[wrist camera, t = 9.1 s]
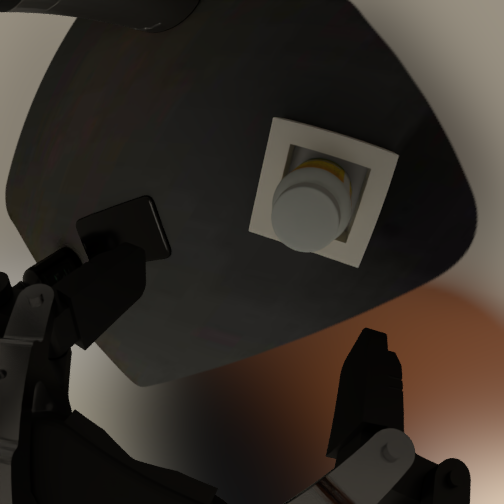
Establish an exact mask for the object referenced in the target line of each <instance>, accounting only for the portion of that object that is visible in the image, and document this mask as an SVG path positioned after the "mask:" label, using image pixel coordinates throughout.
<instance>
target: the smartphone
mask: <svg viewBox="0 0 504 504" xmlns="http://www.w3.org/2000/svg"><path fill="white" fill-rule="evenodd" d="M76 228H77V231H78V234H79V236H80V239H81V241H82V244H83V246H84V249H85V251H86V254H87V256H88V259H89V260H90V259H92V258H93V257H95V256H96V255H98V254H100V253H103V252H106V251H110V250H113V249H115V248H116V247H118V246H119V245H121V244H122V243H124V242H128V243H130V244H133V245H135V246H138V247H140V248H143V249H144V250H145V258H146V261H153V260H159V259H166V258H168V257H169V256H170V255H171V248H170V245H169V242H168V239H167V237H166V234H165V231H164V229H163V226H162V223H161V220H160V217H159V214H158V211H157V208H156V206H155V203H154V201H153V199H152V198H151V197H150V196H147V195H146V196H142V197H139V198H136V199H133V200H130V201H127V202H124V203H121V204H119V205H116V206H113V207H110V208H108V209H105V210H102V211H100V212H97V213H94V214H91V215H89V216H87V217H84V218H81V219H79V220H78V221H77V222H76Z"/></svg>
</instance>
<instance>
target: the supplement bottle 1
mask: <svg viewBox="0 0 504 504" xmlns="http://www.w3.org/2000/svg"><path fill="white" fill-rule="evenodd" d="M81 265H82V264H81V262H80V260H79V258H78V257H77V255H76V254H75V253H74V252H73V251H72V250H70V249H68V248H61V249H59V250H58V251H56V252H54V253H53V254H51V255H49V256H48V257H46V258H44V259H43V260H41V261H40V262H38V263H36V264H35V265H33V266H32V267H30V268H28V269H27V270H26V271H25V273H24V275H23V282H22V281H20V282H19V283H18V284H16V285H15V286H13V287H14V288H17V289H20V290H24V289H25V288H26V287H28V286H31V285H34V284H45V285H48V286H50V287H51V286H53V285H54V284H56V283H57V282H58V281H60V280H61V279H63V278H64V277H66V276H67V275H68V274H70V273H71V272H73V271H74V270H76V269H77V268H80V267H81Z"/></svg>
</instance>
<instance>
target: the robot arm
mask: <svg viewBox="0 0 504 504" xmlns="http://www.w3.org/2000/svg"><path fill="white" fill-rule="evenodd" d="M198 2H199V0H0V12H25V13H43V14H55V15H63V16H71V17H78V18H85V19H91V20H96V21H102V22H107V23H112V24H116V25H121V26H125V27H129V28H132V29H136V30H141V31H145V32H153V33H155V32H161V31H165V30H167V29H170V28H172V27H174V26H175V25H177V24H179V23H180V22H181V21H183V20H184V19H185V18H186V17H187V16H188V15H189V14H190V13H191V12H192V11H193V9H194V8H195V7H196V5H197V4H198ZM145 286H146V258H145V250H144V249H143V248H140V247H138V246H135V245H133V244H130V243H128V242H124V243H122V244H121V245H119V246H118V247H116V248H115V249H113V250H110V251H106V252H103V253H100V254H98V255H96V256H95V257H93V258H92V259H90V260H89V261H88V262H86V263H84V264H83V265H81V267H80V268H77V269H76V270H74V271H73V272H71V273H70V274H68V275H67V276H66V277H64V278H63V279H61V280H60V281H58V282H57V283H56V284H54V285H53V286H51V287H50V286H48V285H45V284H34V285H31V286H28V287H26V288H25V289H24V290H20V289H17V288H14V287H11V284H10V281H9V278H8V275H7V274H5V273H3V272H0V504H228V503H226V502H225V501H224V500H223V499H221V498H220V497H218V496H217V495H215V493H216V491H217V489H218V488H216V487H213V486H211V485H208V484H206V483H203V482H201V481H198V480H196V479H194V478H191V477H189V476H187V475H185V474H182V473H180V472H178V471H174V470H170V469H165V468H162V467H158V466H154V465H151V464H147V463H144V462H140V461H137V460H135V459H133V458H131V457H130V456H129V455H128V454H127V453H126V452H125V451H124V450H123V449H122V448H121V447H120V446H119V445H118V444H117V443H116V442H115V441H114V440H113V439H112V438H111V437H110V436H109V435H108V434H107V433H106V432H105V430H103V429H102V428H100V427H99V426H97V425H96V424H95V423H93V422H92V421H90V420H89V419H87V418H86V417H85V416H83V415H82V414H80V413H79V412H78V411H77V410H74V411H73V412H72V410H71V406H70V402H69V396H68V390H69V376H70V365H71V364H70V363H71V355H72V351H71V347H72V346H73V345H74V344H76V345H78V346H79V347H81V348H82V349H84V350H86V349H87V348H88V347H89V346H90V345H91V344H92V343H93V342H94V341H95V340H96V339H97V338H98V337H99V336H100V335H102V334H103V333H104V332H105V331H106V330H107V329H108V328H109V327H110V326H111V325H112V324H113V323H114V322H115V321H116V320H117V319H118V318H119V317H120V316H121V315H122V314H123V313H124V312H125V311H127V310H128V309H129V308H130V307H131V306H132V305H133V304H134V303H135V302H136V301H137V300H138V299H139V298H140V297H141V296H142V294H143V292H144V290H145ZM401 380H402V368H401V364H400V362H399V359H398V357H397V355H396V353H395V352H391V351H388V345H387V335H386V334H385V333H382V332H378V331H375V330H372V329H369V328H364V329H363V330H362V332H361V334H360V336H359V337H358V340H357V341H356V342H355V344H354V346H353V348H352V349H351V351H350V353H349V354H348V356H347V358H346V360H345V362H344V364H343V367H342V370H341V374H340V381H339V388H338V394H337V401H336V406H335V412H334V418H333V423H332V429H331V434H330V439H329V444H328V449H327V453H326V457H330V458H335V459H336V463H335V468H334V469H333V470H331V471H330V472H329V473H327V474H326V475H325V476H323V477H322V478H321V479H319V480H318V481H316V482H315V483H314V484H312V485H311V486H309V487H308V488H307V489H306V490H304V491H302V492H301V493H299V494H298V495H296V496H295V497H293V498H292V499H290V500H289V501H287V502H285V503H284V504H470V481H471V479H470V473H469V470H468V468H467V466H466V465H465V464H464V463H463V462H462V461H460V460H458V459H455V458H450V459H446V460H444V461H443V462H441V463H440V464H436V463H434V462H431V461H429V460H427V459H425V458H423V457H421V456H419V455H417V454H416V453H415V448H414V445H413V443H412V441H411V440H410V438H409V437H408V436H407V435H406V434H405V433H404V412H403V411H404V408H403V391H402V389H403V383H402V381H401Z"/></svg>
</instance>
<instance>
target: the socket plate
mask: <svg viewBox="0 0 504 504" xmlns="http://www.w3.org/2000/svg"><path fill="white" fill-rule="evenodd" d="M398 157H399V155H397V154H396V153H394V152H392V151H390V150H387V149H384V148H382V147H379V146H376V145H373V144H371V143H368V142H365V141H362V140H359V139H356V138H353V137H350V136H347V135H343V134H340V133H337V132H334V131H330V130H327V129H323V128H320V127H316V126H313V125H309V124H305V123H301V122H298V121H294V120H290V119H285V118H279V117H273V121H272V126H271V130H270V135H269V139H268V144H267V148H266V153H265V157H264V162H263V166H262V171H261V176H260V180H259V185H258V189H257V194H256V199H255V203H254V208H253V212H252V217H251V222H250V226H249V231H250V232H253V233H256V234H259V235H262V236H265V237H268V238H271V239H274V240H277V241H280V242H281V240H280V239H279V238H278V237H277V235H276V234H275V232H274V229H273V226H272V221H271V214H272V200H273V195H274V192H275V190H276V188H277V186H278V184H279V183H280V181H281V180H282V179H283V178H284V177H285V176H286V175H288V174H289V173H290V172H291V171H293V170H294V169H295V168H296V167H298V166H299V165H300V164H302V163H303V162H305V161H307V160H309V159H313V158H325V159H329V160H332V161H334V162H336V163H337V164H339V165H340V166H341V167H342V168H343V169H344V170H345V171H346V173H347V174H348V176H349V178H350V181H351V187H352V210H351V217H350V220H349V223H348V225H347V227H346V228H345V230H344V231H343V232H342V234H341V235H340V236H338V237H337V238H336V239H334V240H333V241H332V242H331V243H330V244H329V245H327V246H326V247H324V248H323V249H320V250H318V251H314V252H313V253H316V254H319V255H322V256H325V257H328V258H331V259H334V260H336V261H339V262H342V263H345V264H348V265H351V266H354V267H357V268H358V267H359V264H360V262H361V260H362V257H363V255H364V252H365V250H366V247H367V245H368V242H369V240H370V237H371V235H372V232H373V230H374V227H375V224H376V222H377V219H378V216H379V214H380V211H381V208H382V205H383V202H384V200H385V197H386V194H387V191H388V188H389V185H390V182H391V179H392V176H393V173H394V170H395V167H396V163H397V160H398Z"/></svg>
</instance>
